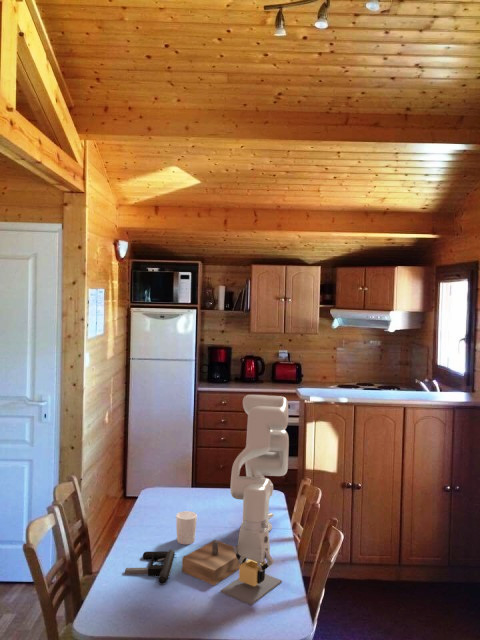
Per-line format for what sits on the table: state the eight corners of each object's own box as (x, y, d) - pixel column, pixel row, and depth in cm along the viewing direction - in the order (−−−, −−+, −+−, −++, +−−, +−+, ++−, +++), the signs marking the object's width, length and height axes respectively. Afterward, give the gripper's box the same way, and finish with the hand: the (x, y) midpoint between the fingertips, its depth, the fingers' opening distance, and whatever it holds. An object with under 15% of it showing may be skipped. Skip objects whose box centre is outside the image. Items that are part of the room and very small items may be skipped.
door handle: (120, 576, 175) (170, 575, 174) (133, 549, 195) (178, 548, 194) (121, 586, 175) (170, 585, 174) (134, 558, 195) (178, 557, 194)
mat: (252, 570, 186) (252, 569, 186) (281, 582, 179) (282, 580, 179) (220, 592, 171) (220, 590, 171) (251, 605, 164) (251, 603, 164)
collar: (249, 573, 179) (250, 558, 179) (264, 579, 176) (265, 564, 175) (239, 580, 174) (239, 565, 174) (254, 586, 171) (254, 571, 171)
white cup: (192, 546, 203) (193, 520, 203) (172, 543, 204) (173, 517, 204) (198, 537, 211) (199, 512, 210) (179, 535, 212) (180, 510, 212)
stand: (214, 553, 198) (215, 527, 198) (245, 565, 190) (246, 538, 190) (181, 571, 183) (182, 544, 183) (214, 585, 175) (215, 556, 175)
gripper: (282, 527, 173) (280, 582, 173) (239, 513, 183) (237, 566, 183) (270, 534, 166) (268, 592, 167) (225, 520, 176) (223, 574, 177)
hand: (252, 578), depth 175 cm, fingers closed on collar, 5 cm apart
